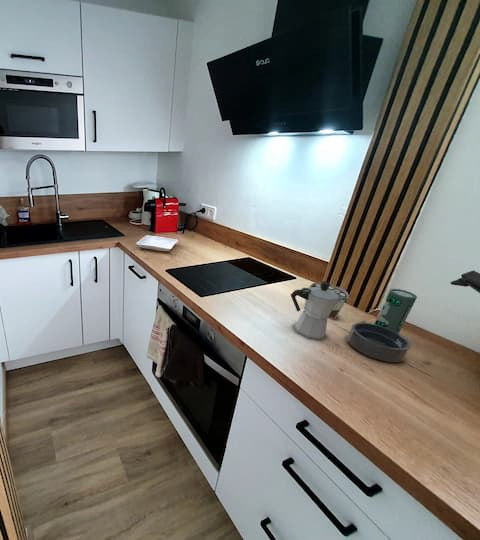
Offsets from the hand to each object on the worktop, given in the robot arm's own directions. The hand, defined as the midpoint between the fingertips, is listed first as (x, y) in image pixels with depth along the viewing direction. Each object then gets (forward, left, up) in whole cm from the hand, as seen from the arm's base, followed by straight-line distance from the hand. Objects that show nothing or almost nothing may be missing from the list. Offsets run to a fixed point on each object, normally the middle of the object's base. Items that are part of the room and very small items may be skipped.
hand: (471, 302), depth 81 cm
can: (+14, -3, -17) cm, 22 cm away
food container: (+30, -10, -17) cm, 36 cm away
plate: (+109, -52, -17) cm, 122 cm away
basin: (+20, +9, -17) cm, 27 cm away
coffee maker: (+38, +8, -17) cm, 42 cm away
